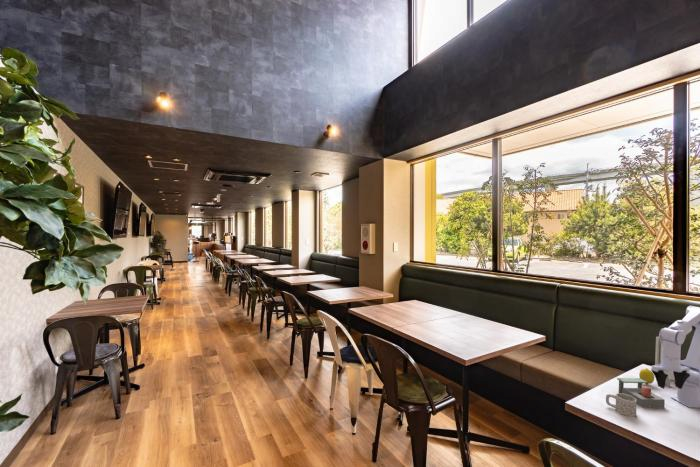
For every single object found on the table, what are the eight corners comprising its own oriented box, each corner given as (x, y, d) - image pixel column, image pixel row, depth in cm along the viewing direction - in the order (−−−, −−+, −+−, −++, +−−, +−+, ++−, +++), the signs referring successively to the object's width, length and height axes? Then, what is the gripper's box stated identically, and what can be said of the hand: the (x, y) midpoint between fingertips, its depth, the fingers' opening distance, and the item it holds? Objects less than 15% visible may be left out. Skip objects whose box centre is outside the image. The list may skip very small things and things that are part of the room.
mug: (636, 412, 134) (637, 397, 134) (635, 419, 130) (636, 403, 130) (606, 403, 142) (607, 388, 141) (604, 409, 137) (604, 393, 137)
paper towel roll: (677, 378, 166) (678, 338, 166) (673, 381, 163) (674, 340, 163) (658, 373, 173) (660, 334, 172) (654, 375, 170) (656, 336, 169)
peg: (645, 401, 144) (646, 385, 144) (652, 405, 141) (653, 389, 140) (638, 401, 144) (639, 386, 143) (645, 405, 140) (646, 389, 140)
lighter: (670, 385, 159) (670, 369, 159) (669, 386, 158) (670, 370, 158) (650, 380, 164) (651, 365, 164) (650, 381, 163) (650, 366, 163)
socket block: (639, 392, 151) (639, 378, 151) (665, 407, 139) (666, 391, 139) (616, 392, 151) (616, 377, 151) (640, 407, 139) (641, 391, 139)
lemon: (656, 387, 157) (657, 371, 156) (643, 386, 158) (644, 370, 158) (648, 382, 162) (649, 366, 162) (636, 381, 163) (636, 365, 163)
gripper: (663, 360, 133) (662, 392, 134) (697, 360, 133) (696, 392, 134) (647, 353, 140) (646, 383, 141) (680, 354, 140) (678, 384, 141)
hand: (669, 387), depth 138 cm, fingers open, 7 cm apart
